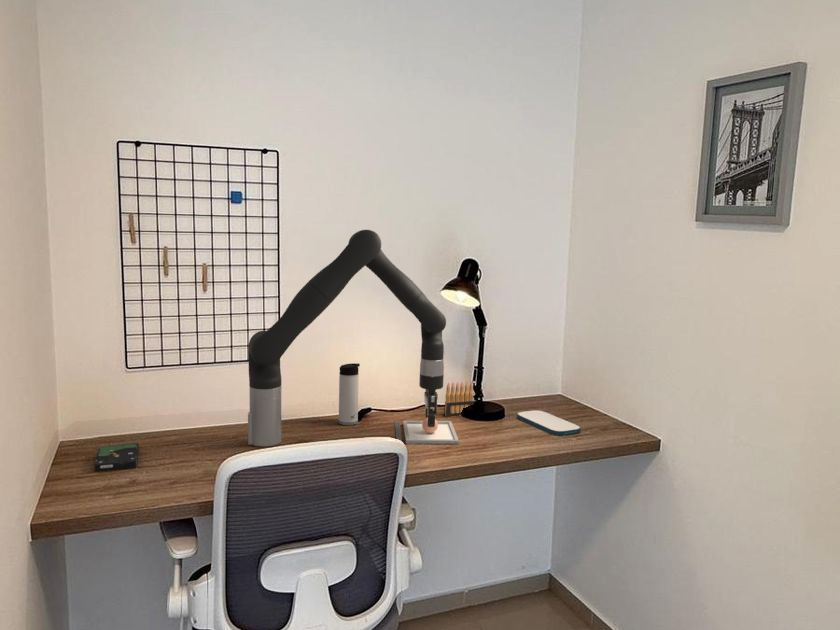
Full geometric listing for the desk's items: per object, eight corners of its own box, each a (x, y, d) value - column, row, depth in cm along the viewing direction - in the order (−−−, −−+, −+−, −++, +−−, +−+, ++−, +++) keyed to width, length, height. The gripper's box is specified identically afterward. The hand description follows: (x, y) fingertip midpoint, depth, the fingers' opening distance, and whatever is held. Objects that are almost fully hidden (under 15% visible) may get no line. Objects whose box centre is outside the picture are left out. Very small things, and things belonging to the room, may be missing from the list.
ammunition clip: (445, 417, 230) (447, 383, 229) (443, 415, 232) (444, 382, 230) (473, 415, 234) (475, 381, 232) (471, 413, 236) (472, 380, 234)
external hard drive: (513, 418, 233) (513, 412, 233) (539, 414, 238) (539, 409, 238) (556, 438, 212) (556, 432, 212) (584, 434, 218) (584, 428, 217)
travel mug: (357, 426, 217) (358, 366, 214) (337, 425, 217) (338, 365, 215) (359, 420, 223) (360, 362, 221) (340, 419, 223) (340, 361, 221)
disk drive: (138, 470, 175) (139, 451, 189) (137, 460, 175) (138, 442, 189) (94, 474, 172) (98, 455, 185) (94, 464, 171) (98, 445, 185)
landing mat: (397, 445, 200) (397, 441, 200) (394, 423, 221) (394, 419, 221) (459, 445, 201) (459, 441, 201) (450, 423, 223) (450, 420, 223)
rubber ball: (422, 435, 209) (423, 419, 208) (421, 430, 214) (421, 415, 213) (438, 435, 209) (438, 419, 208) (436, 430, 214) (437, 415, 213)
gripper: (418, 367, 215) (416, 416, 218) (421, 377, 201) (419, 429, 204) (441, 367, 216) (439, 416, 218) (446, 377, 202) (444, 429, 204)
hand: (430, 422), depth 211 cm, fingers open, 8 cm apart
